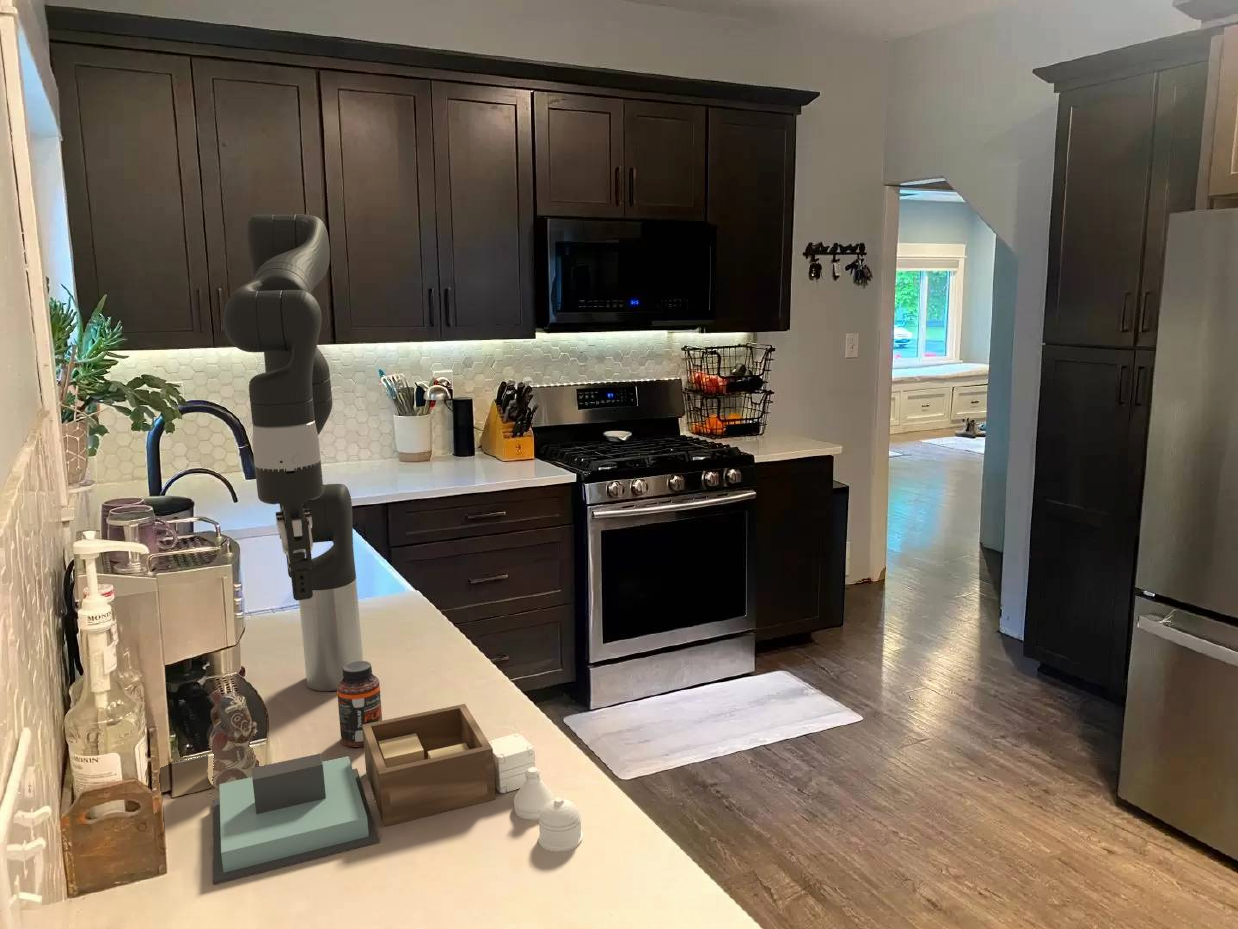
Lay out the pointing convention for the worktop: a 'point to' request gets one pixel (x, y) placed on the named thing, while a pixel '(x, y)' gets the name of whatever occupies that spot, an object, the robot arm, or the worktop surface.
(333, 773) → the lid
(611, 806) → the worktop surface
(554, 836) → the container set
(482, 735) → the box
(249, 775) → the figurine
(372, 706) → the supplement bottle
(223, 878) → the mat
